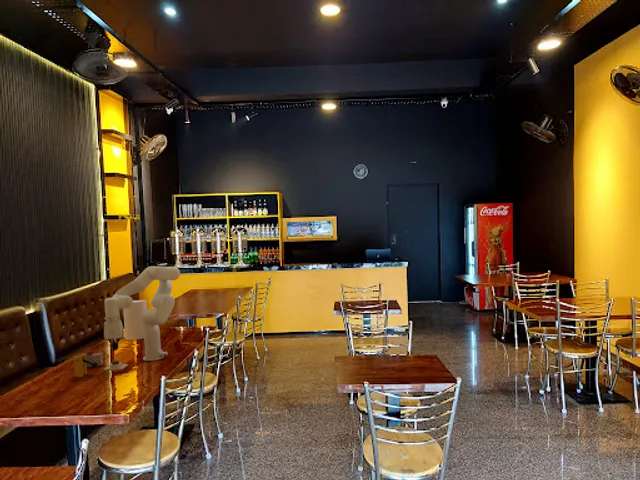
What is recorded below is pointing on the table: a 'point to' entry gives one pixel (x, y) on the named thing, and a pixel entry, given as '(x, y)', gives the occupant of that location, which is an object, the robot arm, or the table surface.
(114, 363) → the stop button
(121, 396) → the table surface
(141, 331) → the cylinder
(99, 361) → the food item
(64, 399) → the table surface
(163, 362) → the table surface
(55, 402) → the table surface
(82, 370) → the lever bracket
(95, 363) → the press lever
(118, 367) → the control block
